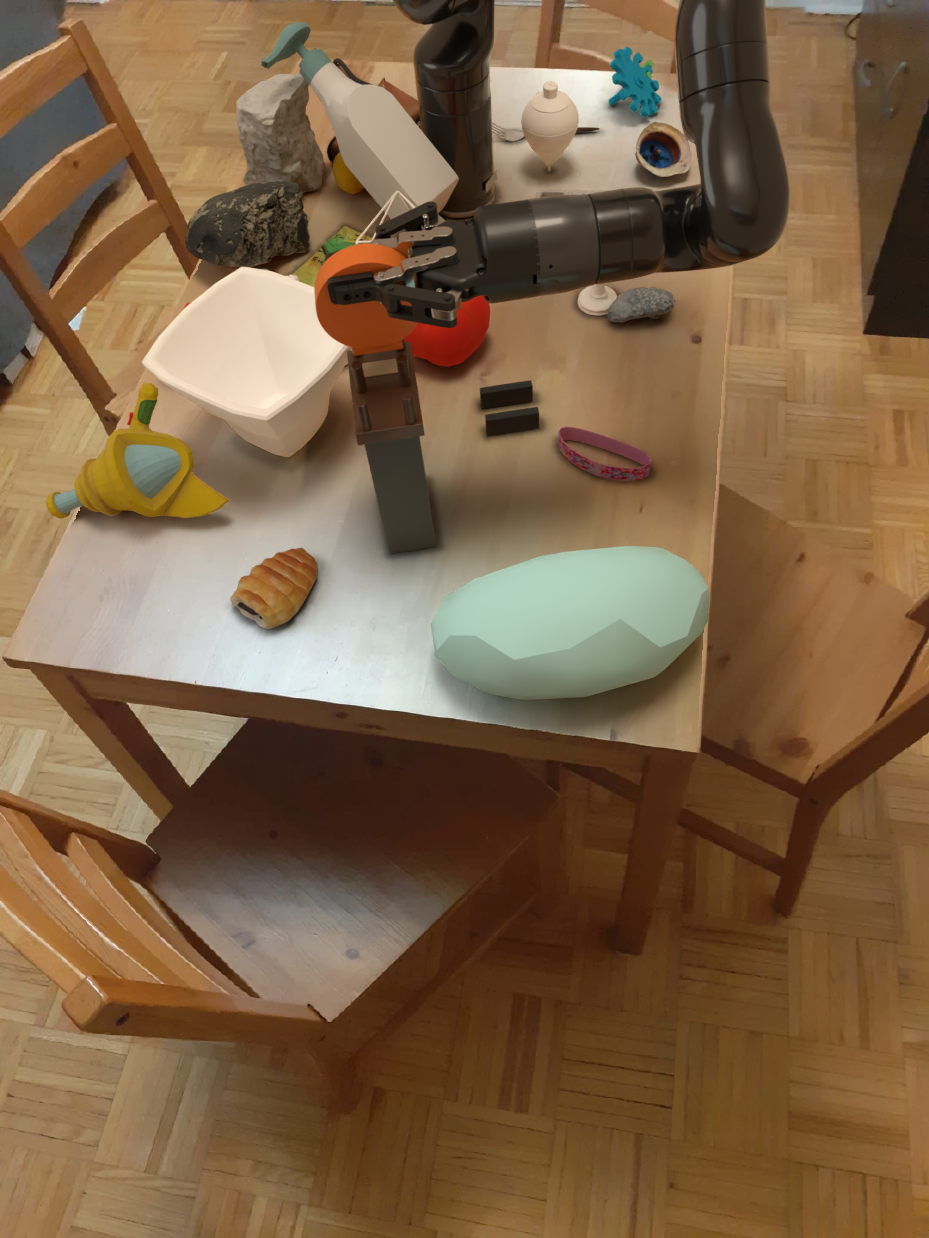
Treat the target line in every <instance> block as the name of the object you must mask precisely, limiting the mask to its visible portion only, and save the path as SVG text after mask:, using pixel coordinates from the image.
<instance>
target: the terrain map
mask: <svg viewBox="0 0 929 1238" xmlns="http://www.w3.org/2000/svg"><path fill="white" fill-rule="evenodd" d="M362 233H363V232H360V231H357V230H355V229H353V228H350V227H348V226H346V225H343V227H342V228H340V229H339V230H338V231H337V232H336V233H335V234H334V235H333V236H332V237H330V238H328V239H327V240H326V241H325V242H324V243H323V244H322V245H321V246H320V248H319V249H318V250H317V251H316V252H315V253H314V254H313V255H312V256H311V257H310V258H308V259H307V260H305V262H304V263H303V264H302V265H300V266H299V268H297V269H296V270H295V271H294V272H293V273H292V274H291V275H296V276H297V277H298V279H299V282H302V283H304V284H307V285H309V286H312V287H314V285H315V279H316V276H317V274H318V272H319V270H320V268H321V267H322V265H323V264H324V263H325V256H326V254H328V253H332V252H335V251H337V250H342V249H344V248H347V247H350V246H353V245H356V240H357V239H358V238H359V236H360V235H361V234H362ZM372 238H373V236H370V235H367V234H366V233H365V234H364V235H363V236H362V237H361V239H360V240H359V241H371V240H372ZM359 244H369V243H359ZM409 254H410V257H412V256H413V253H412V252H411V251H409Z"/></svg>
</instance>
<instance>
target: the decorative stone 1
mask: <svg viewBox="0 0 929 1238" xmlns="http://www.w3.org/2000/svg"><path fill="white" fill-rule="evenodd" d="M309 86H310V85H309V84H308V82H307V81H306V80H305V79H304V78H303V76H302V75H301V74H300V73H291V74H290V73H277V74H275V75H272V76H271V77H269V78H268V79H265V80H260V81H259V82H258V83H257V84H255V85H254V86H252V87H250V89H248V90H245V92H244V93H243V94H242V95H241V96H240V97H238V99H237V100H236V101H235V104H236V105H235V110H236V123H237V124H236V125H237V128H238V129H237V130H238V139H239V141H240V143H241V145H242V150H243V155H244V158H245V161H246V163H245V164H246V170H245V172H244V175H243V178H242V181H243V186H246V185H249V184H253V183H259V182H260V183H262V184H264V183H267V182H275V181H290V182H294V183H296V184H297V185H299V186H300V189H301V192H302V194H305V193H308V192H309V193H310V192H316V191H318V190H319V189H320V187H321V186H322V184H323V177H324V175H325V174H326V172H327V164H326V162H325V160H324V155H323V152H322V150H321V148H320V146H319V144H318V142H317V139H316V134H315V131H314V130H313V129H312V128H311V127H312V126H311V122H310V119H309V116H308V114H307V106H308V104H309V100H310V91H309Z"/></svg>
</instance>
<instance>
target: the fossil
mask: <svg viewBox="0 0 929 1238" xmlns="http://www.w3.org/2000/svg"><path fill="white" fill-rule="evenodd" d="M675 303H676V299H675V296H674V294H672V292H671V291H668V290H666V289H660V288H658V287H653V286H650V287H647V286H646V287H635V288H630V289H629V288H628V289H627V290H624V291H623V292H621V293H620V294H619V295H617V298H616V299H615V301H613V302H612V304H611V305H610V307H609V310H608V312H607V314H606V315H607V318H608V320H609V321H610V322H611V323H625V322H627V321H630V320H634V319H644V318H647V317H649V319H652V320H653V319H655V320H656V319H658V318H659V317H660V315H663V314H668V313H669V312H670V311H672V310H673V309H674V308H675Z"/></svg>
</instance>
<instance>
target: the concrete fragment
mask: <svg viewBox="0 0 929 1238" xmlns="http://www.w3.org/2000/svg"><path fill="white" fill-rule="evenodd" d="M303 197H304V193H302V192H301V189H300V186H299V185H297V184H296V183H294V182H290V181H275V182H267V183H264V184H262V183H260V182H259V183H253V184H249V185H246V186H244V185H243V186H241V187H238V188H236V189H232V190H230V191H227V192H222V193H219V194H217V195H214V196H212V197H211V198H208V199H207V200H205V202H204V203H203V204H201V206H200V207H199V208H198V209H196V210H195V211H194V213H193V215H192V216H191V218H190V219H189V220H188V222H187V231H186V233H185V238H184V239H185V249H186V250H187V251H188V253H190V254H191V255H192V256H193V257H195V258H196V259H199V260H201V261H204V262H207V263H208V264H211V265H213V266H217V267H221V268H223V267H230V268H231V267H233V268H237V267H239V268H241V267H249V268H250V267H256V266H260V265H262V264H268V263H269V262H272V258H274V257H275V256H291V255H292V254H295V253H297V254H299V253H300V254H302V253H306V252H307V251H308V250H309V249H310V243H309V240H310V234H309V229H308V227H309V219H308V214H307V212H305V211H304V201H303Z"/></svg>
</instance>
